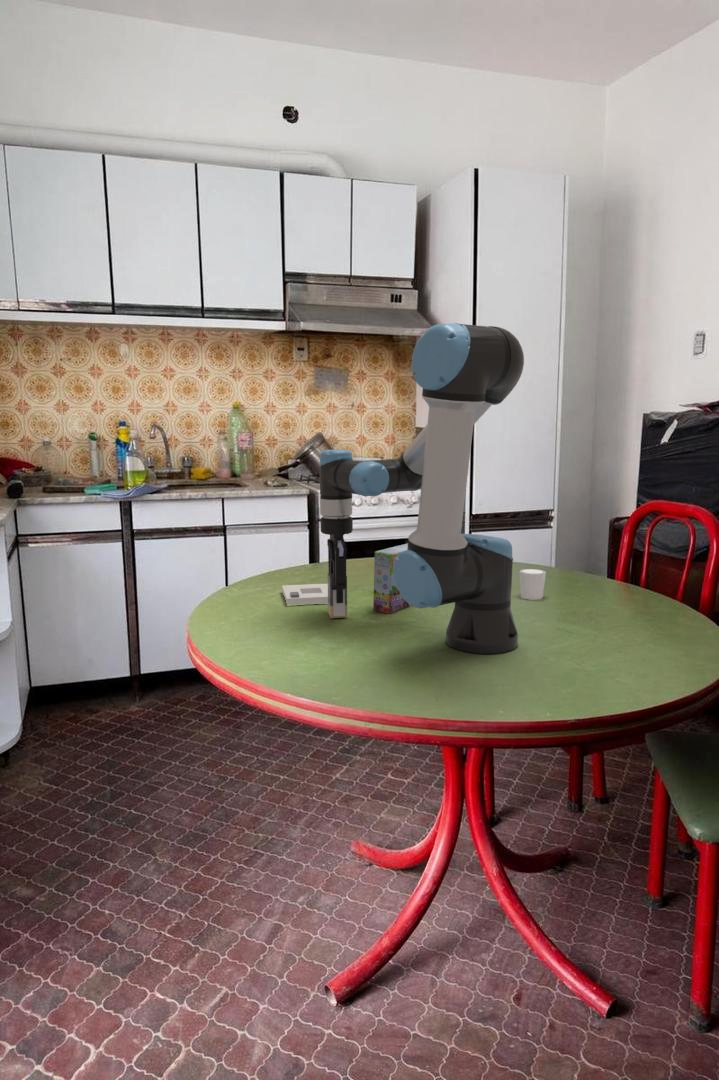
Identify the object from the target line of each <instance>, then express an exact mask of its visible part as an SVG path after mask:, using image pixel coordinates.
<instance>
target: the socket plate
mask: <svg viewBox="0 0 719 1080" xmlns="http://www.w3.org/2000/svg"><path fill="white" fill-rule="evenodd" d="M282 592H283V594H282V596H283V595H284V597H285V600H286V602H285V604H286V603H287V604H326V605H328V604H327V603H328V583H313V584H312V583H311V584H310V583H307V584H290V585H289V584H288V585H281V593H282ZM284 597H283V598H284ZM285 600H284V601H285Z"/></svg>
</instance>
